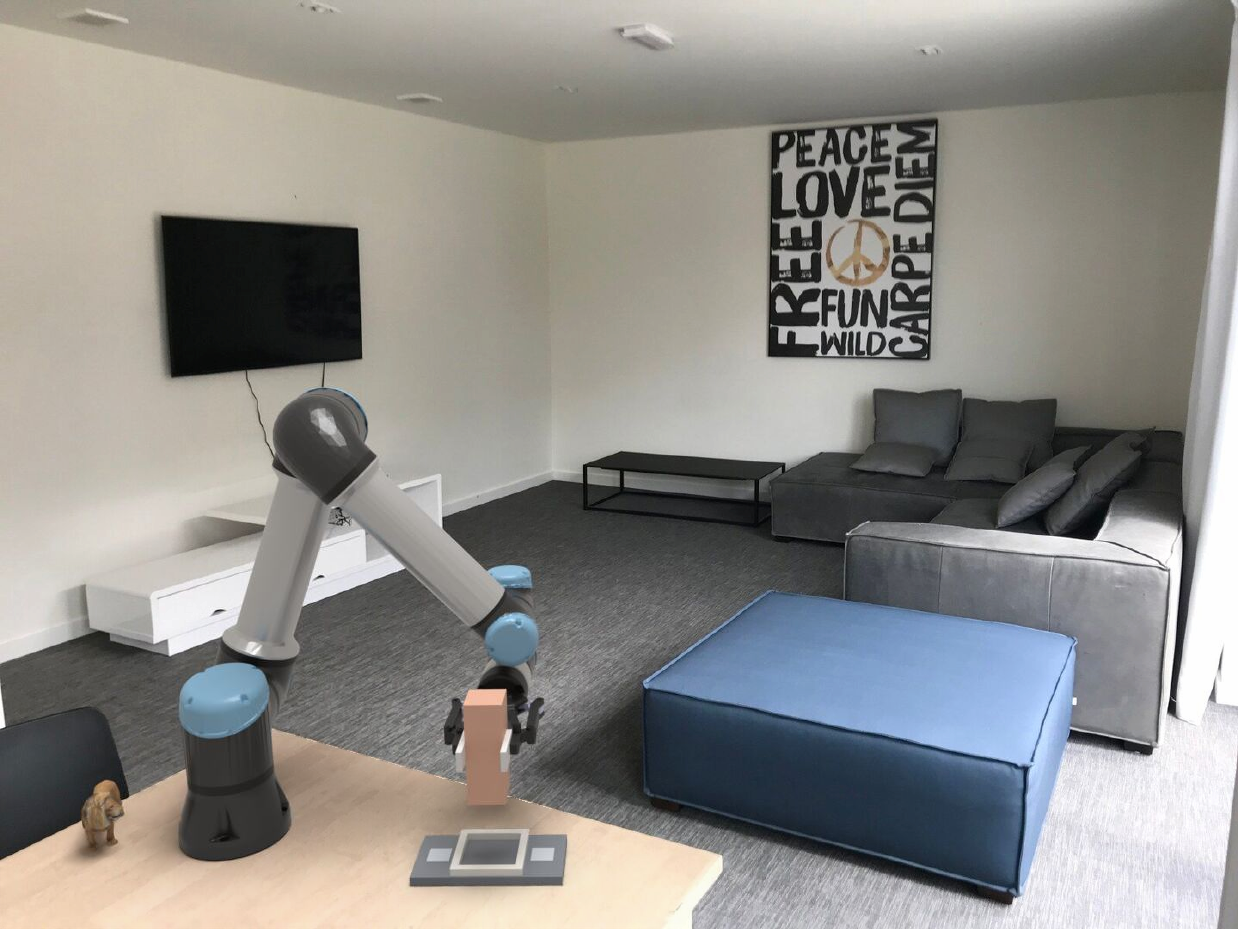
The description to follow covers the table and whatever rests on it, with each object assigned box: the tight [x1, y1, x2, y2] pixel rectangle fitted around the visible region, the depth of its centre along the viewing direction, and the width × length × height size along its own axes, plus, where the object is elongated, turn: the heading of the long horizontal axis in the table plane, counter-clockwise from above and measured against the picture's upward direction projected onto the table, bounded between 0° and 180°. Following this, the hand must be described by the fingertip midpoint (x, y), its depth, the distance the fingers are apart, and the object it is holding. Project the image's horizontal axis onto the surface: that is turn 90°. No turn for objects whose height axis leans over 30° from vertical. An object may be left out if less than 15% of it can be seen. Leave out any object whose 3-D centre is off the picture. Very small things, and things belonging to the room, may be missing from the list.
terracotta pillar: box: [463, 688, 511, 806], centre depth 131 cm, size 5×5×14 cm
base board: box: [409, 828, 568, 887], centre depth 134 cm, size 20×10×2 cm, turn 89°
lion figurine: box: [80, 779, 125, 852], centre depth 141 cm, size 15×5×9 cm, turn 28°
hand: (481, 762), depth 125 cm, fingers closed on terracotta pillar, 5 cm apart
